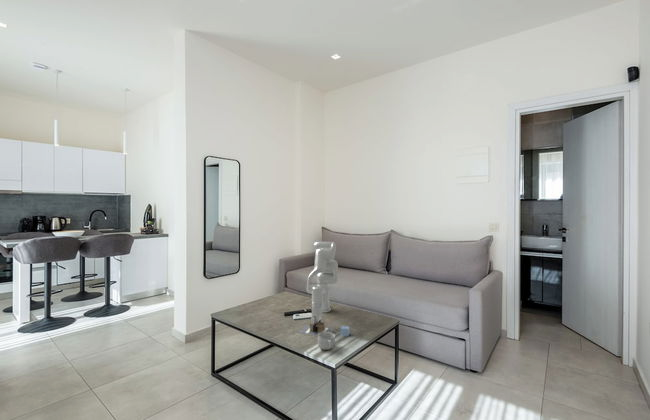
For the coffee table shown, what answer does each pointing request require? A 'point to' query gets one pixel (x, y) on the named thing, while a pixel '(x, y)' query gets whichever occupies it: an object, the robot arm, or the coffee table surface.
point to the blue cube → (345, 330)
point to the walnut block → (320, 326)
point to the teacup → (326, 340)
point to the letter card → (307, 331)
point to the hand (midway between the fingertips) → (317, 329)
